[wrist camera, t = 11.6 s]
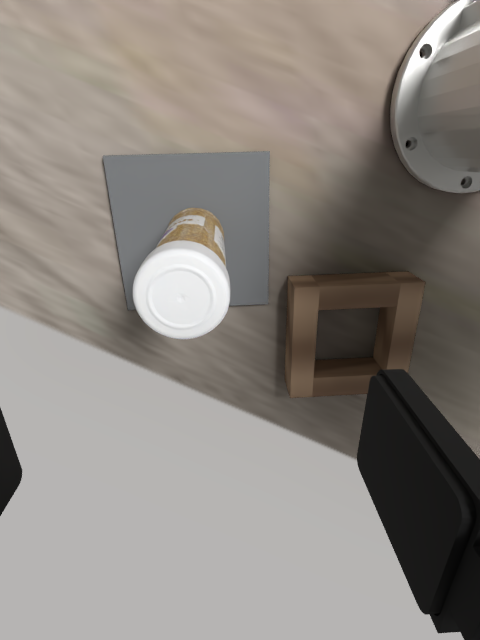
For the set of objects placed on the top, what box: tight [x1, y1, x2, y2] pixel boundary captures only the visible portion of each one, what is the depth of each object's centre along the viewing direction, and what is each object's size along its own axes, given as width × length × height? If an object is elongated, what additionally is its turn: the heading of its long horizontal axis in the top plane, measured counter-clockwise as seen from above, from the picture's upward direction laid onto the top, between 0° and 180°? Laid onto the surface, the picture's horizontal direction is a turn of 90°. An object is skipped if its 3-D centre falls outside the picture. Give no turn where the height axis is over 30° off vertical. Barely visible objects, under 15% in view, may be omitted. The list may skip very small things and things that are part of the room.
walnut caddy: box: [285, 271, 426, 398], centre depth 32 cm, size 10×10×3 cm
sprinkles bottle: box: [133, 208, 230, 339], centre depth 23 cm, size 5×5×13 cm
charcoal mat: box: [103, 151, 270, 310], centre depth 29 cm, size 12×12×1 cm
